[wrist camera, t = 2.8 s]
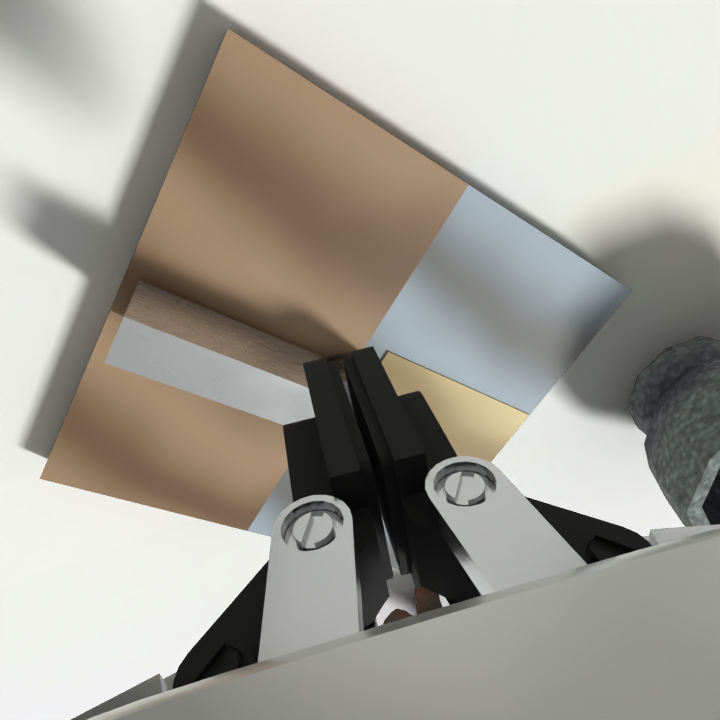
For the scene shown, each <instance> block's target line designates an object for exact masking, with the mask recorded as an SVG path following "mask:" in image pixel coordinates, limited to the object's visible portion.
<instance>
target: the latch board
mask: <svg viewBox="0 0 720 720" xmlns="http://www.w3.org/2000/svg"><path fill="white" fill-rule="evenodd" d="M139 280H140V281H142V282H145V283H147V284H149V285H152V286H154V287H157V288H159V289H161V290H164V291H166V292H169V293H171V294H173V295H176V296H178V297H181V298H183V299H185V300H188V301H190V302H193V303H195V304H197V305H200V306H202V307H204V308H207V309H209V310H212V311H214V312H216V313H219V314H221V315H224V316H226V317H228V318H231V319H233V320H236V321H238V322H240V323H243V324H245V325H248V326H250V327H252V328H255V329H257V330H260V331H262V332H264V333H267V334H269V335H271V336H274V337H276V338H279V339H281V340H283V341H286V342H288V343H291V344H293V345H295V346H298V347H300V348H303V349H305V350H307V351H310V352H312V353H315V354H317V355H319V356H321V358H326V359H327V358H329V357H332V356H335V355H339V354H350V352H351V351H355V350H359V349H363V348H367V347H371V346H373V347H374V349H375V351H376V353H377V355H378V357H379V359H380V361H381V363H382V365H383V367H384V369H385V371H386V373H387V375H388V377H389V379H390V381H391V383H392V385H393V387H394V389H395V391H396V393H397V396H400V395H404V394H408V393H412V392H415V391H420V392H421V393H422V395H423V396H424V398H425V400H426V401H427V403H428V405H429V407H430V408H431V410H432V412H433V414H434V415H435V417H436V419H437V421H438V423H439V424H440V426H441V428H442V430H443V431H444V433H445V435H446V437H447V438H448V440H449V442H450V444H451V445H452V447H453V449H454V451H455V452H456V454H457V456H458V457H460V456H471V457H477V458H481V459H484V460H486V461H488V462H491V461H492V460H493V459H494V458H495V456H496V455H497V454H498V453H499V452H500V450H501V449H502V448H503V447H504V445H505V444H506V443H507V442H508V441H509V439H510V438H511V437H512V436H513V434H514V433H515V432H516V431H517V430H518V428H519V427H520V426H521V425H522V424H523V422H524V421H525V420H526V419H527V417H528V416H529V415H530V414H531V413H532V411H533V410H534V409H535V408H536V406H537V405H538V404H539V403H540V402H541V400H542V399H543V398H544V397H545V396H546V394H547V393H548V392H549V391H550V389H551V388H552V387H553V386H554V385H555V383H556V382H557V381H558V380H559V379H560V377H561V376H562V375H563V374H564V372H565V371H566V370H567V369H568V368H569V366H570V365H571V364H572V363H573V361H574V360H575V359H576V358H577V357H578V355H579V354H580V353H581V352H582V351H583V349H584V348H585V347H586V346H587V344H588V343H589V342H590V341H591V340H592V338H593V337H594V336H595V335H596V334H597V332H598V331H599V330H600V329H601V327H602V326H603V325H604V324H605V323H606V321H607V320H608V319H609V318H610V316H611V315H612V314H613V313H614V312H615V310H616V309H617V308H618V307H619V306H620V304H621V303H622V302H623V301H624V299H625V298H626V297H627V296H628V295H629V293H630V292H631V291H632V290H630V289H629V288H627V287H626V286H624V285H622V284H621V283H619V282H618V281H616V280H615V279H613V278H612V277H610V276H609V275H607V274H606V273H604V272H602V271H601V270H599V269H598V268H596V267H595V266H593V265H592V264H590V263H589V262H587V261H585V260H584V259H582V258H581V257H579V256H578V255H576V254H575V253H573V252H572V251H570V250H569V249H567V248H565V247H564V246H562V245H561V244H559V243H558V242H556V241H555V240H553V239H552V238H550V237H549V236H547V235H545V234H544V233H542V232H541V231H539V230H538V229H536V228H535V227H533V226H532V225H530V224H529V223H527V222H525V221H524V220H522V219H521V218H519V217H518V216H516V215H515V214H513V213H512V212H510V211H509V210H507V209H505V208H504V207H502V206H501V205H499V204H498V203H496V202H495V201H493V200H492V199H490V198H489V197H487V196H485V195H484V194H482V193H481V192H479V191H478V190H476V189H475V188H473V187H472V186H470V185H469V184H467V183H465V182H464V181H462V180H461V179H459V178H458V177H456V176H455V175H453V174H452V173H450V172H449V171H447V170H445V169H444V168H442V167H441V166H439V165H438V164H436V163H435V162H433V161H432V160H430V159H428V158H427V157H425V156H424V155H422V154H421V153H419V152H418V151H416V150H415V149H413V148H412V147H410V146H408V145H407V144H405V143H404V142H402V141H401V140H399V139H398V138H396V137H395V136H393V135H392V134H390V133H388V132H387V131H385V130H384V129H382V128H381V127H379V126H378V125H376V124H375V123H373V122H372V121H370V120H368V119H367V118H365V117H364V116H362V115H361V114H359V113H358V112H356V111H355V110H353V109H352V108H350V107H348V106H347V105H345V104H344V103H342V102H341V101H339V100H338V99H336V98H335V97H333V96H332V95H330V94H328V93H327V92H325V91H324V90H322V89H321V88H319V87H318V86H316V85H315V84H313V83H312V82H310V81H308V80H307V79H305V78H304V77H302V76H301V75H299V74H298V73H296V72H295V71H293V70H291V69H290V68H288V67H287V66H285V65H284V64H282V63H281V62H279V61H278V60H276V59H275V58H273V57H271V56H270V55H268V54H267V53H265V52H264V51H262V50H261V49H259V48H258V47H256V46H255V45H253V44H251V43H250V42H248V41H247V40H245V39H244V38H242V37H241V36H239V35H238V34H236V33H235V32H233V31H231V30H230V29H228V30H227V32H226V35H225V37H224V40H223V42H222V44H221V47H220V49H219V51H218V54H217V56H216V59H215V61H214V63H213V66H212V68H211V71H210V73H209V75H208V78H207V80H206V83H205V85H204V87H203V90H202V92H201V95H200V97H199V99H198V102H197V104H196V106H195V109H194V111H193V114H192V116H191V118H190V121H189V123H188V126H187V128H186V130H185V133H184V135H183V138H182V140H181V142H180V145H179V147H178V150H177V152H176V154H175V157H174V159H173V161H172V164H171V166H170V169H169V171H168V173H167V176H166V178H165V181H164V183H163V185H162V188H161V190H160V193H159V195H158V197H157V200H156V202H155V205H154V207H153V209H152V212H151V214H150V217H149V219H148V221H147V224H146V226H145V228H144V231H143V233H142V236H141V238H140V240H139V243H138V245H137V248H136V250H135V252H134V255H133V257H132V260H131V262H130V264H129V267H128V269H127V272H126V274H125V276H124V279H123V281H122V283H121V286H120V288H119V291H118V293H117V295H116V298H115V300H114V303H113V305H112V307H111V310H110V312H109V315H108V317H107V319H106V322H105V324H104V327H103V329H102V331H101V334H100V336H99V338H98V341H97V343H96V346H95V348H94V350H93V353H92V355H91V358H90V360H89V362H88V365H87V367H86V370H85V372H84V374H83V377H82V379H81V382H80V384H79V386H78V389H77V391H76V394H75V396H74V398H73V401H72V403H71V405H70V408H69V410H68V413H67V415H66V417H65V420H64V422H63V425H62V427H61V429H60V432H59V434H58V437H57V439H56V441H55V444H54V446H53V449H52V451H51V453H50V456H49V458H48V460H47V463H46V465H45V468H44V470H43V472H42V475H41V477H40V479H43V480H47V481H51V482H55V483H59V484H63V485H67V486H71V487H75V488H79V489H83V490H87V491H91V492H95V493H99V494H103V495H107V496H111V497H115V498H119V499H123V500H127V501H131V502H135V503H139V504H143V505H147V506H151V507H155V508H159V509H163V510H167V511H171V512H175V513H179V514H183V515H187V516H191V517H195V518H199V519H203V520H207V521H211V522H215V523H219V524H222V525H226V526H230V527H234V528H238V529H242V530H246V531H250V532H254V533H258V534H262V535H266V536H270V537H271V536H272V530H273V526H274V523H275V520H276V519H277V518H278V516H279V515H280V513H281V512H282V511H283V510H284V509H285V508H286V507H288V506H289V505H290V504H292V503H293V498H292V491H291V484H290V476H289V469H288V462H287V454H286V447H285V440H284V432H283V425H282V424H279V423H276V422H273V421H271V420H268V419H265V418H262V417H259V416H256V415H253V414H250V413H247V412H245V411H242V410H239V409H236V408H233V407H230V406H227V405H224V404H222V403H219V402H216V401H213V400H210V399H207V398H204V397H201V396H199V395H196V394H193V393H190V392H187V391H184V390H181V389H178V388H176V387H173V386H170V385H167V384H164V383H161V382H158V381H155V380H152V379H150V378H147V377H144V376H141V375H138V374H135V373H132V372H129V371H127V370H124V369H121V368H118V367H115V366H112V365H109V364H106V363H104V362H105V360H106V358H107V355H108V353H109V350H110V348H111V346H112V343H113V341H114V339H115V336H116V334H117V331H118V329H119V327H120V324H121V322H122V320H123V317H124V315H125V313H126V310H127V308H128V306H129V303H130V301H131V299H132V296H133V294H134V292H135V289H136V287H137V285H138V282H139ZM382 520H383V518H382ZM383 525H384V531H385V536H386V541H387V546H388V551H389V556H390V561H391V566H392V567H394V568H398V569H399V567H398V564H397V561H396V558H395V555H394V552H393V549H392V546H391V543H390V540H389V537H388V533H387V530H386V527H385V524H384V521H383Z"/></svg>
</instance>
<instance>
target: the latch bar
mask: <svg viewBox="0 0 720 720" xmlns="http://www.w3.org/2000/svg"><path fill="white" fill-rule="evenodd" d="M348 358H351V356H350V354H339V355H335V356H332V357H329V358H327V359H326V361H327V363H331V362H335V361H336V363H337V366H338V369H339V372H340V375H341V378H342V381H343V384H344V387H345V390H346V393H347V395H348V398H349V401H350V404H351V399H350V394H349V389H348V385H347V380H346V375H345V370H344V365H343V360H344V359H348ZM318 359H322V358H321V356H319V355H317V354H315V353H312V352H310V351H307V350H305V349H303V348H300V347H298V346H295V345H293V344H291V343H288V342H286V341H283V340H281V339H279V338H276V337H274V336H271V335H269V334H267V333H264V332H262V331H260V330H257V329H255V328H252V327H250V326H248V325H245V324H243V323H240V322H238V321H236V320H233V319H231V318H228V317H226V316H224V315H221V314H219V313H216V312H214V311H212V310H209V309H207V308H204V307H202V306H200V305H197V304H195V303H193V302H190V301H188V300H185V299H183V298H181V297H178V296H176V295H173V294H171V293H169V292H166V291H164V290H161V289H159V288H157V287H154V286H152V285H149V284H147V283H145V282H142V281H140V280H139V282H138V285H137V287H136V289H135V292H134V294H133V296H132V299H131V301H130V303H129V306H128V308H127V310H126V313H125V315H124V317H123V320H122V322H121V324H120V327H119V329H118V331H117V334H116V336H115V339H114V341H113V343H112V346H111V348H110V350H109V353H108V355H107V358H106V360H105V362H104V363H106V364H109V365H112V366H115V367H118V368H121V369H124V370H127V371H129V372H132V373H135V374H138V375H141V376H144V377H147V378H150V379H152V380H155V381H158V382H161V383H164V384H167V385H170V386H173V387H176V388H178V389H181V390H184V391H187V392H190V393H193V394H196V395H199V396H201V397H204V398H207V399H210V400H213V401H216V402H219V403H222V404H224V405H227V406H230V407H233V408H236V409H239V410H242V411H245V412H247V413H250V414H253V415H256V416H259V417H262V418H265V419H268V420H271V421H273V422H276V423H279V424H282V425H286V424H290V423H294V422H297V421H301V420H305V419H309V418H313V417H315V415H314V410H313V406H312V402H311V397H310V393H309V389H308V384H307V380H306V376H305V371H304V367H303V363H305V362H309V361H314V360H318ZM351 407H352V404H351ZM352 410H353V409H352Z"/></svg>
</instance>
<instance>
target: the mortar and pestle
mask: <svg viewBox="0 0 720 720" xmlns="http://www.w3.org/2000/svg"><path fill="white" fill-rule="evenodd" d="M628 409H629V411H630V413H631V415H632V417H633V419H634V421H635V423H636V425H637V426H638V428H639V429H640V430H641V431H642V432H644V433H645V434H646V435H647V436H646V440H645V443H644V445H645V450H646V455H647V460H648V464H649V468H650V470H651V472H652V473H653V475H654V477H655V479H656V481H657V483H658V485H659V486H660V488H661V490H662V492H663V494H664V496H665V498H666V499H667V501H668V502H669V504H670V505H671V507H672V508H673V510H674V511H675V513H676V514H677V516H678V517H679V518H680V520H681V521H682V523H683V524H684V525H685V526H686V527H691V526H704V525H717V524H720V341H717V340H713V339H710V338H706V337H702V336H699V337H697V338H694V339H691V340H689V341H686V342H683V343H681V344H678V345H675V346H673V347H670V348H667V349H665V350H664V351H663V352H662V353H661V354H660V355H659V356H658V357H657V358H656V359H655V360H654V361H653V362H652V363H651V364H650V365H649V366H648V367H647V368H646V369H645V370H644V371H643V372H642V373H641V374H640V375H639V376H638V377H637V380H636V383H635V386H634V389H633V392H632V395H631V398H630V401H629V405H628Z"/></svg>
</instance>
